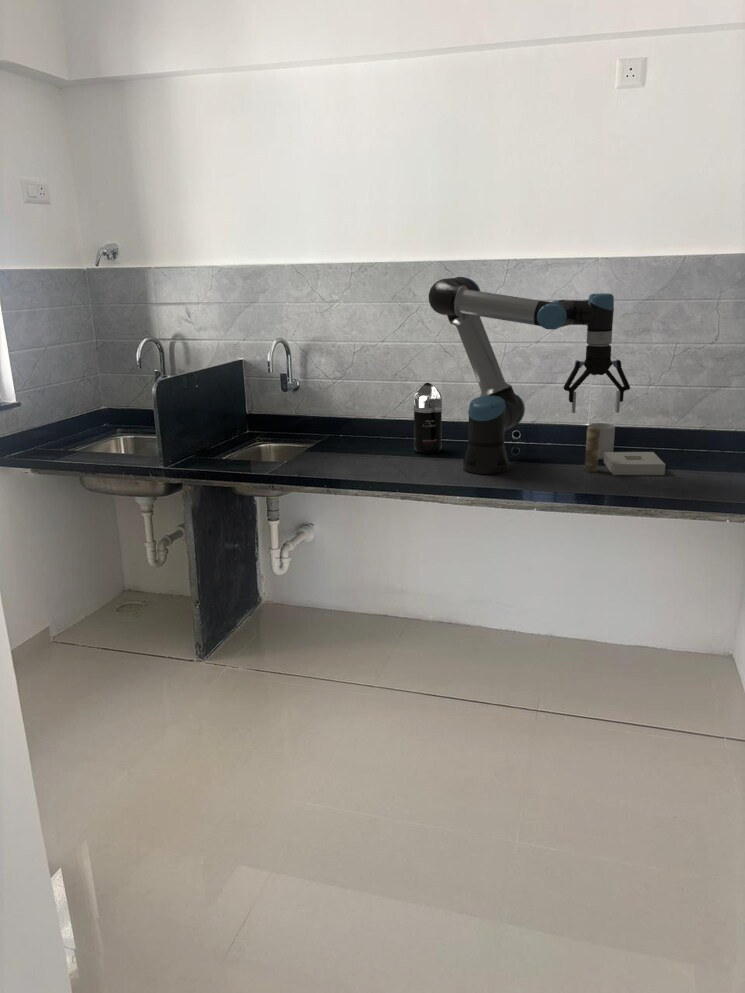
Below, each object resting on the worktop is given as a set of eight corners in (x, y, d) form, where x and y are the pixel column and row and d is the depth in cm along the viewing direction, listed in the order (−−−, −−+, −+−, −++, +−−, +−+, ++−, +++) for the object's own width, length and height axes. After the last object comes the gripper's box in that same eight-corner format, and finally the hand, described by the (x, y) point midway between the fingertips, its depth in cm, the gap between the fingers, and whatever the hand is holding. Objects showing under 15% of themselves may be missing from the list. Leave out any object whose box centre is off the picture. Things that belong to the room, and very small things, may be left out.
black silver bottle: (411, 448, 289) (411, 381, 282) (439, 447, 290) (439, 379, 283) (416, 455, 280) (415, 385, 272) (444, 453, 281) (444, 384, 273)
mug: (613, 461, 266) (615, 429, 262) (586, 459, 268) (588, 428, 265) (612, 452, 277) (614, 421, 273) (586, 451, 279) (588, 420, 276)
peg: (585, 472, 253) (588, 429, 249) (583, 468, 257) (586, 427, 253) (598, 472, 253) (601, 429, 249) (596, 468, 257) (598, 427, 252)
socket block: (612, 474, 250) (613, 464, 248) (603, 461, 265) (604, 451, 264) (664, 475, 248) (665, 464, 247) (652, 462, 263) (653, 451, 262)
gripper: (559, 346, 241) (556, 414, 247) (643, 345, 238) (638, 414, 244) (556, 344, 248) (553, 410, 254) (637, 342, 245) (632, 409, 251)
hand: (595, 412), depth 249 cm, fingers open, 13 cm apart
